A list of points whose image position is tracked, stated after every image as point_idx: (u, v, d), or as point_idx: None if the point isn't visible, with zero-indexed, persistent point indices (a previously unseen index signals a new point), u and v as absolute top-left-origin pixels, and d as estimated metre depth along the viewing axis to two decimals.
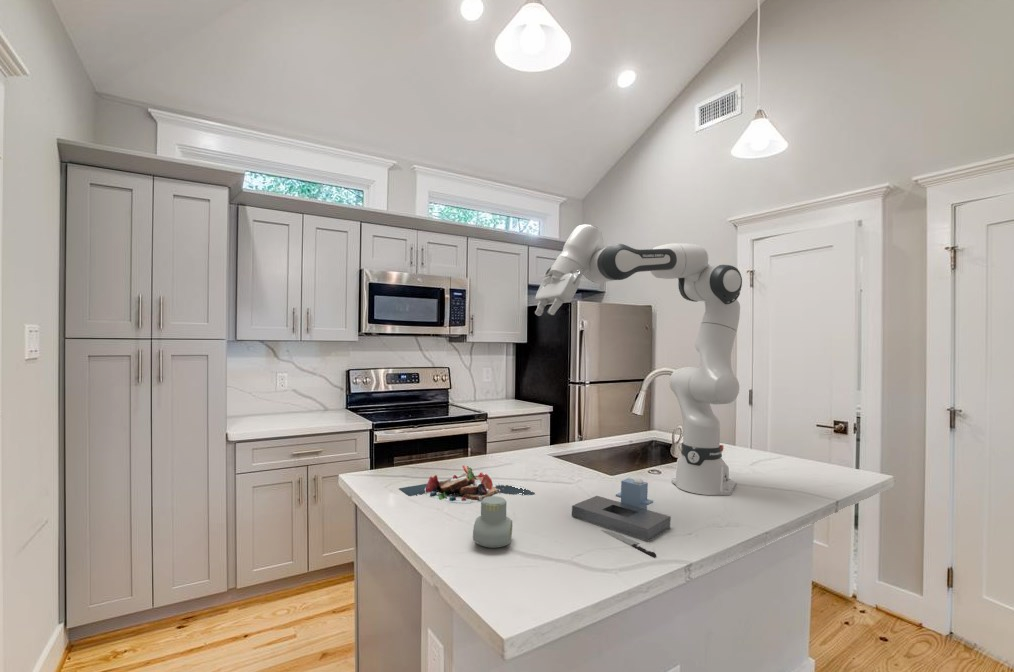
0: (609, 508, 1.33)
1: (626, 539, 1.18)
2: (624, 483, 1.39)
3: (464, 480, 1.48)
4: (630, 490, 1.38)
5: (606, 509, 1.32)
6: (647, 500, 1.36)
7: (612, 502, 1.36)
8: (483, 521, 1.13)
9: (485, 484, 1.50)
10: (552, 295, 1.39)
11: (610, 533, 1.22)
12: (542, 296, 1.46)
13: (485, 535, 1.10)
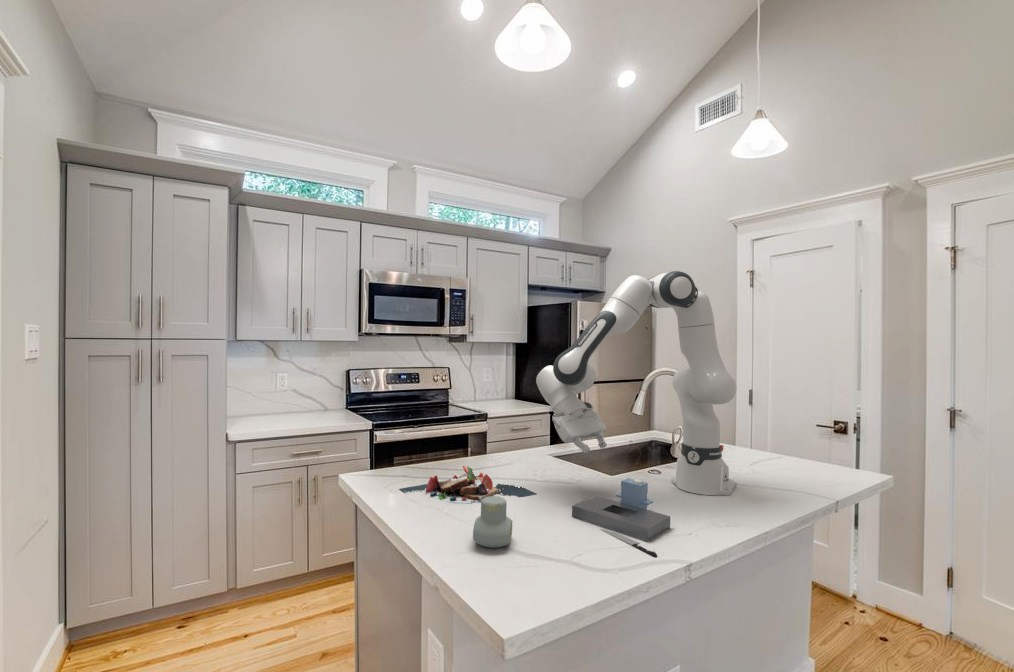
0: (609, 508, 1.33)
1: (626, 539, 1.18)
2: (624, 483, 1.39)
3: (464, 480, 1.47)
4: (630, 490, 1.38)
5: (606, 509, 1.32)
6: (647, 500, 1.36)
7: (612, 502, 1.36)
8: (483, 521, 1.13)
9: (485, 484, 1.50)
10: None
11: (610, 533, 1.22)
12: None
13: (485, 535, 1.10)
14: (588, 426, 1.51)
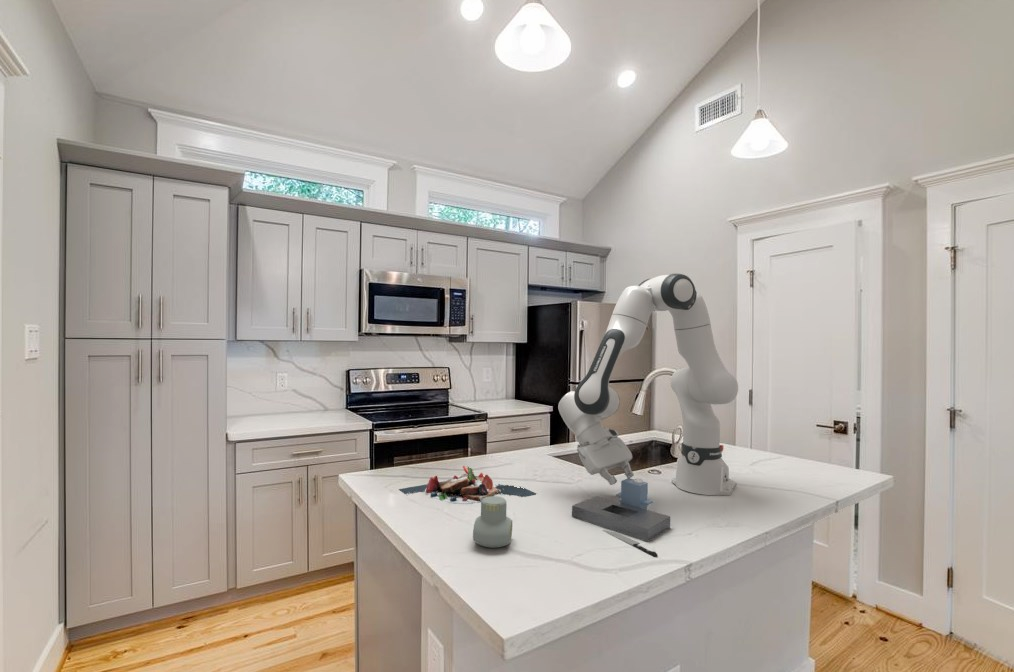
0: (609, 508, 1.33)
1: (627, 539, 1.19)
2: (624, 483, 1.39)
3: (465, 480, 1.47)
4: (630, 490, 1.38)
5: (606, 509, 1.32)
6: (647, 500, 1.36)
7: (612, 502, 1.36)
8: (483, 521, 1.13)
9: (486, 484, 1.50)
10: None
11: (611, 533, 1.22)
12: None
13: (485, 535, 1.10)
14: (614, 455, 1.45)
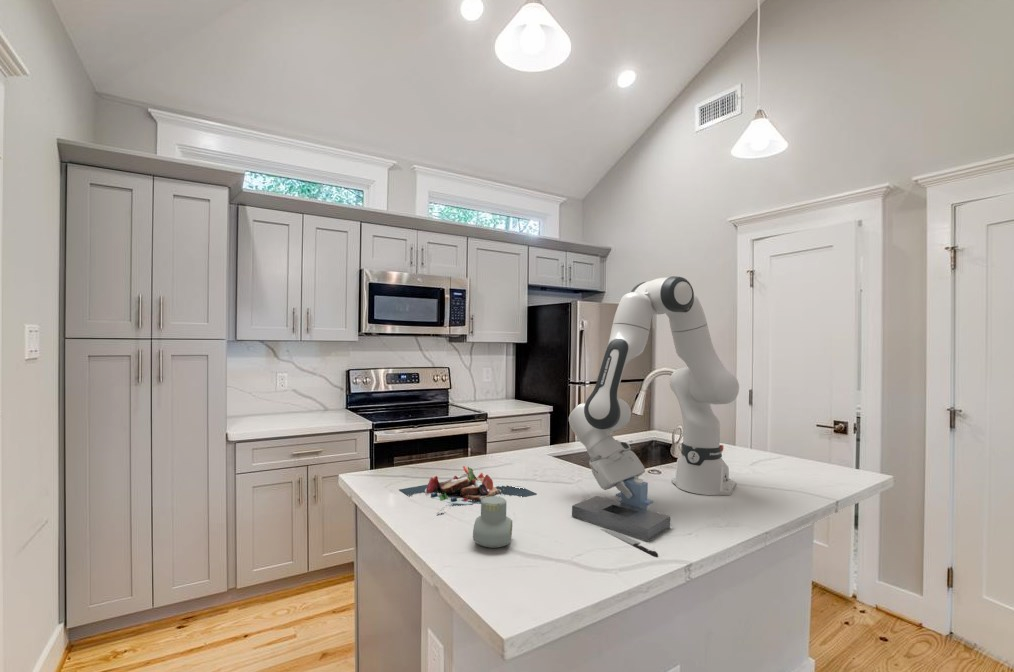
0: (609, 508, 1.33)
1: (627, 539, 1.19)
2: None
3: (465, 481, 1.47)
4: None
5: (606, 509, 1.32)
6: (647, 500, 1.36)
7: (612, 502, 1.36)
8: (483, 521, 1.13)
9: (486, 485, 1.50)
10: None
11: (611, 533, 1.22)
12: None
13: (485, 535, 1.10)
14: (627, 469, 1.42)
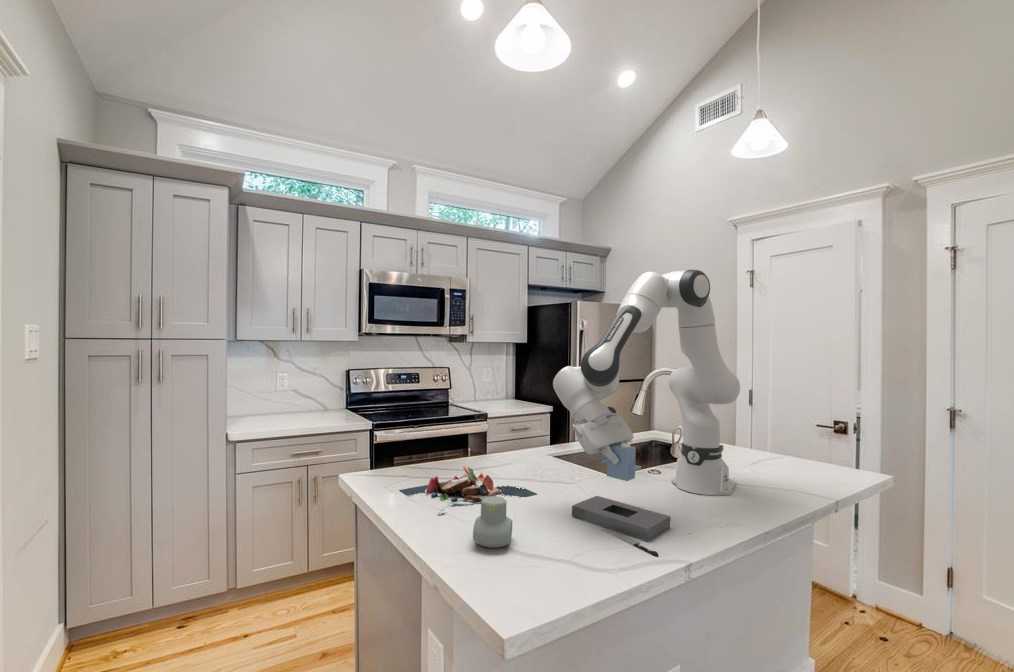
0: (609, 508, 1.33)
1: (628, 539, 1.19)
2: None
3: (465, 481, 1.47)
4: None
5: (606, 509, 1.32)
6: (635, 466, 1.27)
7: (612, 502, 1.36)
8: (483, 521, 1.13)
9: (486, 485, 1.50)
10: None
11: (611, 533, 1.22)
12: None
13: (485, 535, 1.10)
14: (614, 434, 1.33)
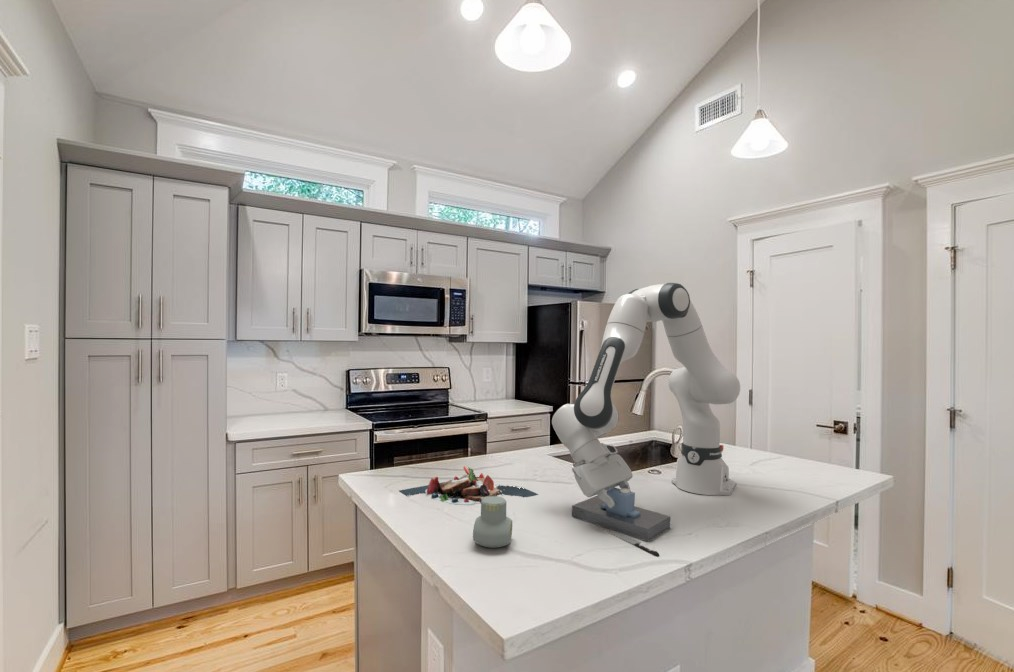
0: None
1: (628, 538, 1.19)
2: (609, 493, 1.30)
3: (466, 481, 1.46)
4: (616, 500, 1.28)
5: None
6: (634, 512, 1.27)
7: None
8: (483, 521, 1.13)
9: (487, 485, 1.49)
10: None
11: (612, 532, 1.22)
12: None
13: (485, 535, 1.10)
14: (613, 474, 1.33)
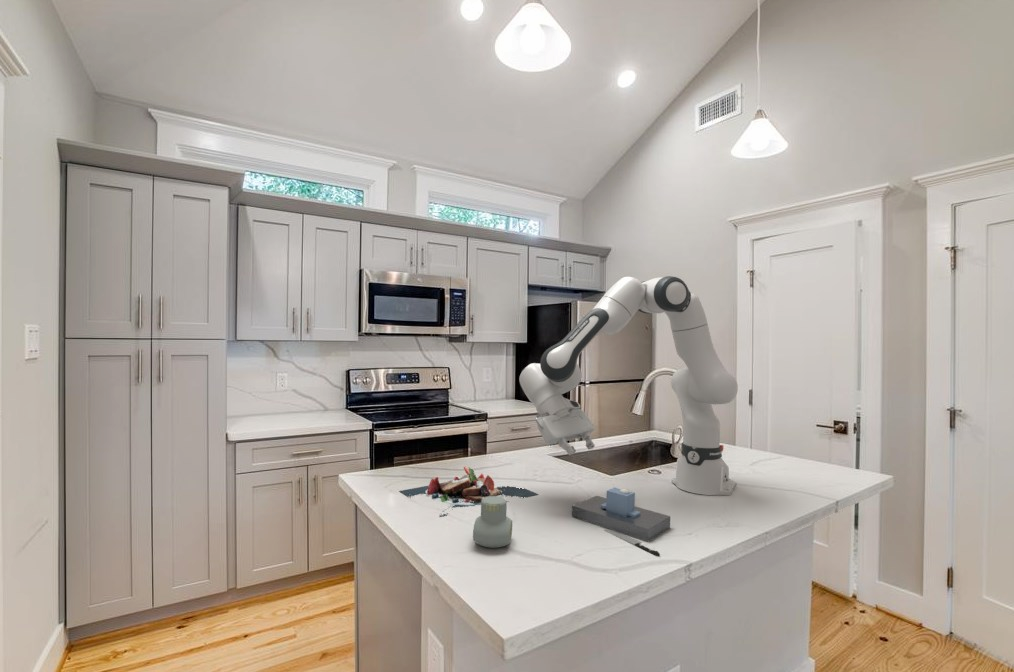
0: None
1: (629, 538, 1.19)
2: (609, 493, 1.30)
3: (466, 482, 1.46)
4: (616, 500, 1.28)
5: None
6: (634, 512, 1.27)
7: None
8: (483, 521, 1.13)
9: (487, 485, 1.49)
10: None
11: (612, 532, 1.22)
12: None
13: (485, 535, 1.10)
14: (575, 426, 1.42)
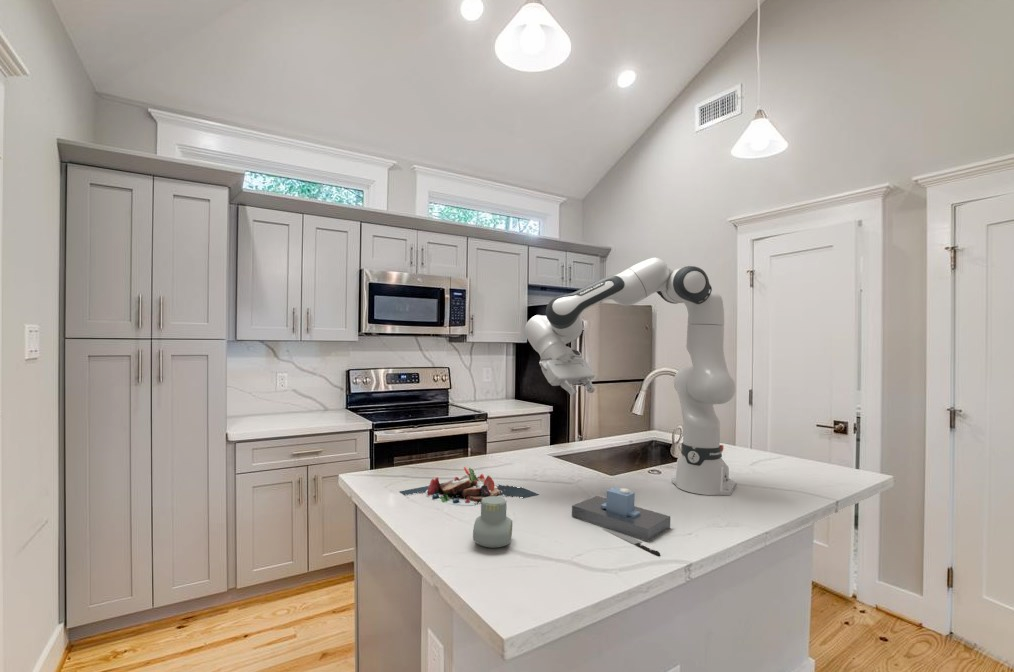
0: None
1: (629, 538, 1.19)
2: (609, 493, 1.30)
3: (467, 482, 1.46)
4: (616, 500, 1.28)
5: None
6: (634, 512, 1.27)
7: None
8: (483, 521, 1.13)
9: (487, 486, 1.49)
10: None
11: (613, 532, 1.22)
12: None
13: (485, 535, 1.10)
14: (576, 371, 1.52)
